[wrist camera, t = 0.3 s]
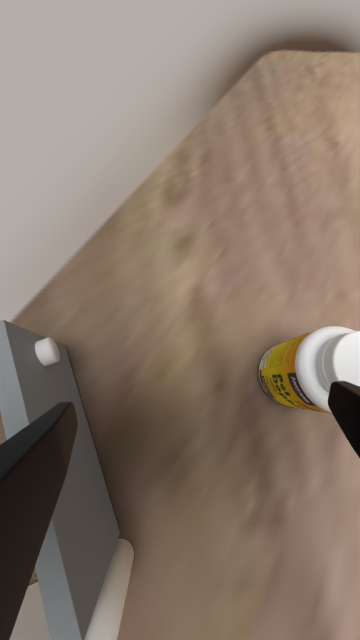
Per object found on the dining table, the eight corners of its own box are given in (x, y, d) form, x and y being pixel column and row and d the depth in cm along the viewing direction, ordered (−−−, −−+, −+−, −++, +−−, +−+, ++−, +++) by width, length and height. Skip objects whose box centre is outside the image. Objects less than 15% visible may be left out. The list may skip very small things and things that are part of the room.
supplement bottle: (244, 377, 24) (298, 369, 14) (279, 332, 25) (353, 296, 15) (293, 420, 23) (388, 445, 13) (328, 372, 24) (439, 361, 14)
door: (130, 528, 20) (100, 634, 11) (94, 544, 20) (36, 668, 11) (73, 342, 23) (18, 315, 15) (42, 353, 23) (-34, 332, 14)
